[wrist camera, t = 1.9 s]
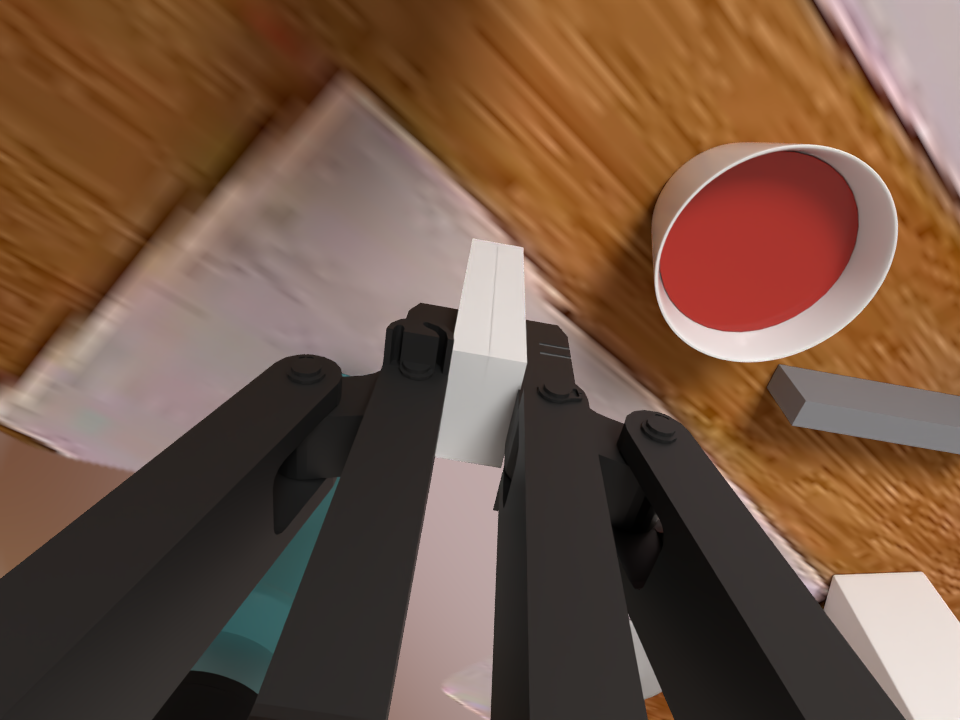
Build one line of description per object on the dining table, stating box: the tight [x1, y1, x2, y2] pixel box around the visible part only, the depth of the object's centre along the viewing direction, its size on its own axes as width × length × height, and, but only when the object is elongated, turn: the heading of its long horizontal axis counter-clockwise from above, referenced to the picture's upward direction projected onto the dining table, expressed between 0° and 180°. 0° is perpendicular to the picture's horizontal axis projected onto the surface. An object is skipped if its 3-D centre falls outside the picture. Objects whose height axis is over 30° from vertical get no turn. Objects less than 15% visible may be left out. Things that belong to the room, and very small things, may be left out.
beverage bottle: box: [152, 374, 348, 720], centre depth 26 cm, size 6×7×20 cm
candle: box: [651, 142, 898, 362], centre depth 25 cm, size 9×9×6 cm
